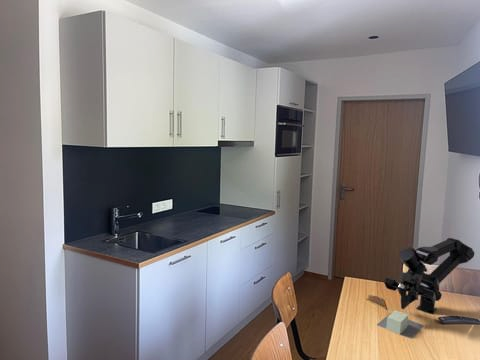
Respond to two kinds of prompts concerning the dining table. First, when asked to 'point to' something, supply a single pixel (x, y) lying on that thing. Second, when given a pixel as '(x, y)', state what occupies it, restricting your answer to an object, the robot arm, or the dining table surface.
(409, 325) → the rubber mat
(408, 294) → the robot arm
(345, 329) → the dining table surface
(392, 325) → the sage block
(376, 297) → the shard
